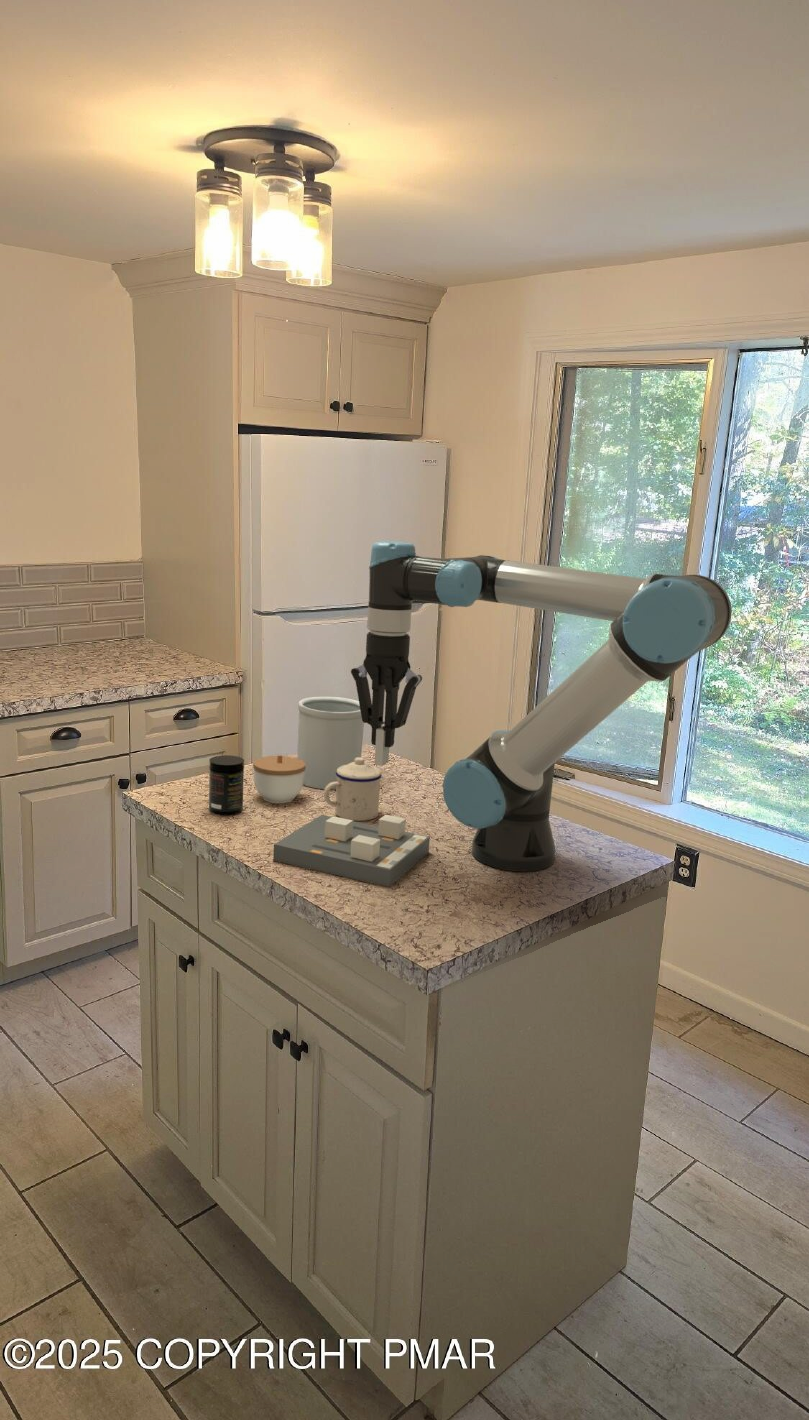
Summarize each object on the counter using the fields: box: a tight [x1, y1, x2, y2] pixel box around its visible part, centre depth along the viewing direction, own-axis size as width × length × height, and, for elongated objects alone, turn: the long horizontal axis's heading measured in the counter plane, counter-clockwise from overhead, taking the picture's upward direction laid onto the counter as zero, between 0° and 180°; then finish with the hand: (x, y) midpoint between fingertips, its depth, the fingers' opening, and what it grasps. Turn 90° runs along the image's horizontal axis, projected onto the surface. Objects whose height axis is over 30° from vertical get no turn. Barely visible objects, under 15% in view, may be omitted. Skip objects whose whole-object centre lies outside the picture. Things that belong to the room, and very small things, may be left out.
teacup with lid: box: [323, 756, 382, 822], centre depth 193 cm, size 12×9×12 cm
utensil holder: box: [296, 696, 365, 791], centre depth 214 cm, size 15×15×18 cm
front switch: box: [350, 835, 380, 862], centre depth 165 cm, size 4×3×3 cm
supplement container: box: [208, 754, 245, 816], centre depth 192 cm, size 7×7×10 cm
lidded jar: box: [252, 754, 306, 805], centre depth 201 cm, size 11×11×9 cm
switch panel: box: [272, 814, 431, 888], centre depth 173 cm, size 22×18×3 cm
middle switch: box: [325, 816, 353, 841], centre depth 174 cm, size 4×3×3 cm
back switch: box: [378, 814, 407, 839], centre depth 176 cm, size 4×3×3 cm
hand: (381, 763), depth 174 cm, fingers closed
